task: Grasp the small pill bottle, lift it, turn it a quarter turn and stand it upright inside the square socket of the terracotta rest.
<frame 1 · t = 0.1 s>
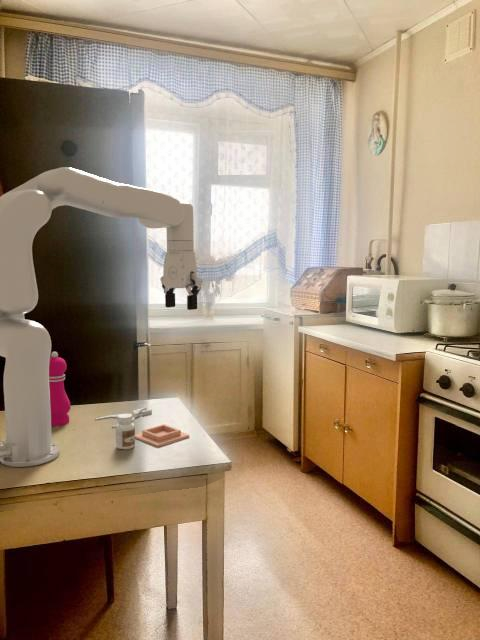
hand: (181, 308, 147), 31 cm above the table, tool pointing down, fingers open, 9 cm apart
rest: (161, 437, 131), on the table
pepper mill: (57, 423, 143), on the table
pill bottle: (125, 447, 125), on the table
pliers: (127, 419, 147), on the table
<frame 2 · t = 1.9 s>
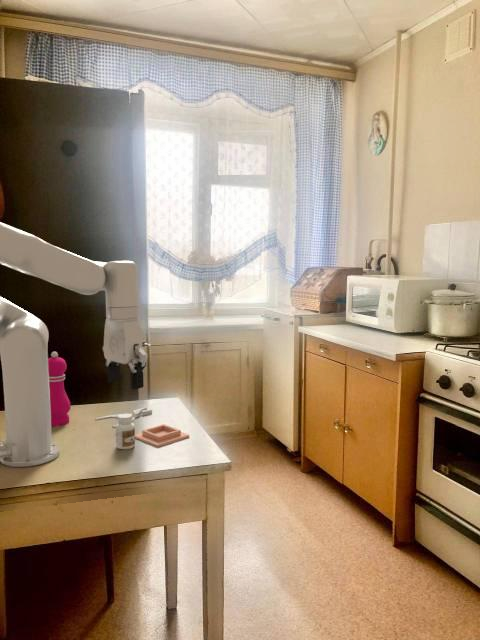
hand: (125, 384, 123), 15 cm above the table, tool pointing down, fingers open, 9 cm apart
nothing on the table moved.
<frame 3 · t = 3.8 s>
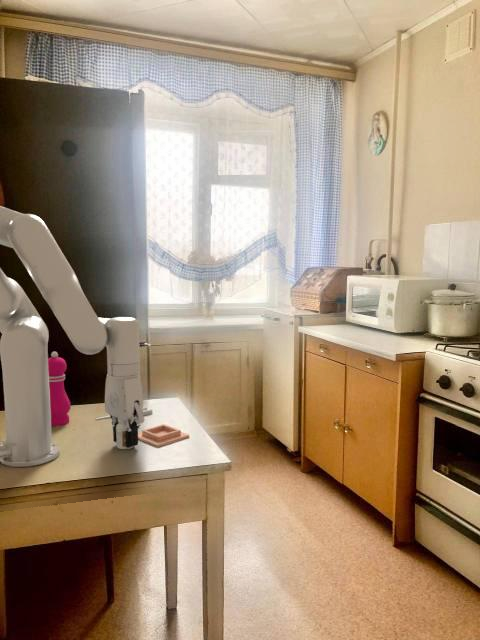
hand: (125, 442, 125), 1 cm above the table, tool pointing down, fingers closed on pill bottle, 4 cm apart
pill bottle: (125, 447, 125), on the table, touching gripper
everything else where it was.
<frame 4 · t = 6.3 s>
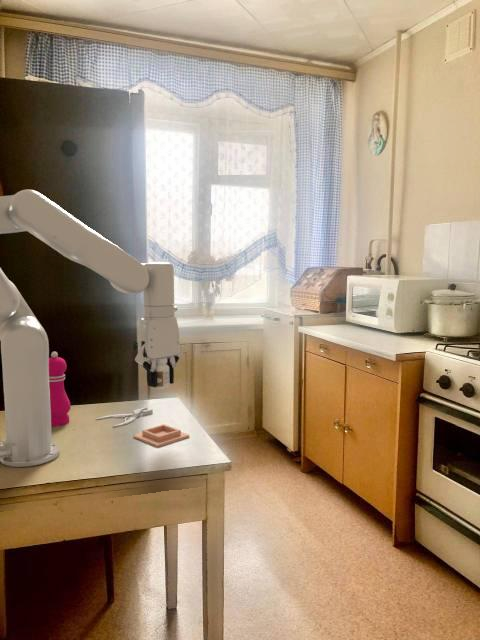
hand: (160, 383, 130), 14 cm above the table, tool pointing down, fingers closed on pill bottle, 4 cm apart
pill bottle: (160, 388, 130), point 13 cm above the table, touching gripper
everything else where it was.
when the fingers open (3 cm above the table, at t = 8.9 s): pill bottle drops 1 cm, resting on rest.
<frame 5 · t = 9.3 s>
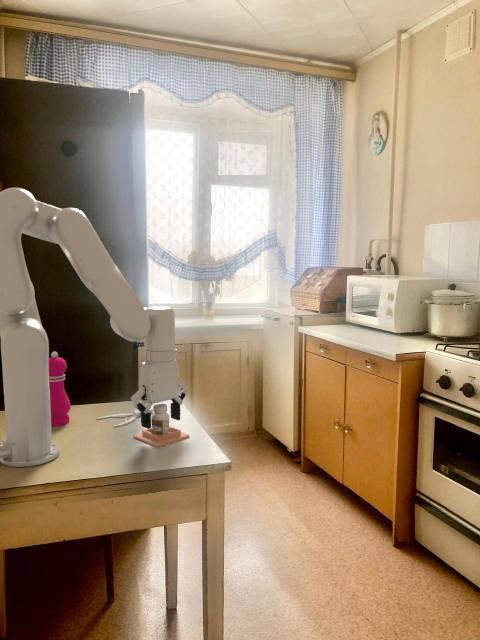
hand: (161, 422, 131), 4 cm above the table, tool pointing down, fingers open, 8 cm apart
pill bottle: (160, 435, 131), resting on rest
everything else where it was.
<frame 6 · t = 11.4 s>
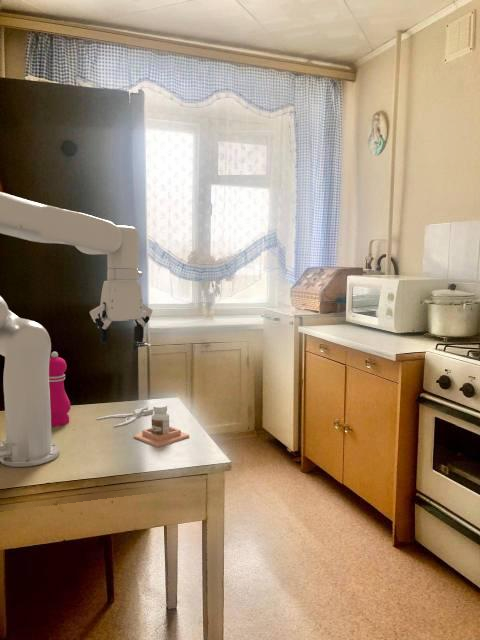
hand: (122, 343, 132), 24 cm above the table, tool pointing down, fingers open, 9 cm apart
nothing on the table moved.
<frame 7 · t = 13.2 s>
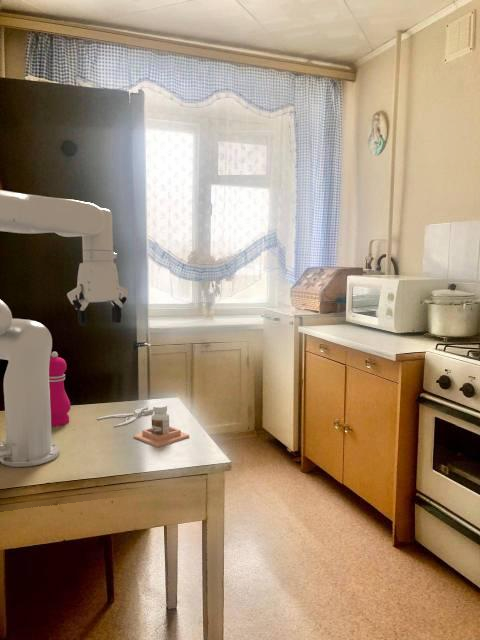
hand: (100, 323, 134), 28 cm above the table, tool pointing down, fingers open, 9 cm apart
nothing on the table moved.
at the end: pill bottle 0.3 cm off-centre on the rest, point 0.4 cm above the rest's base; pill bottle tilted 0°; the gripper is holding nothing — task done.
